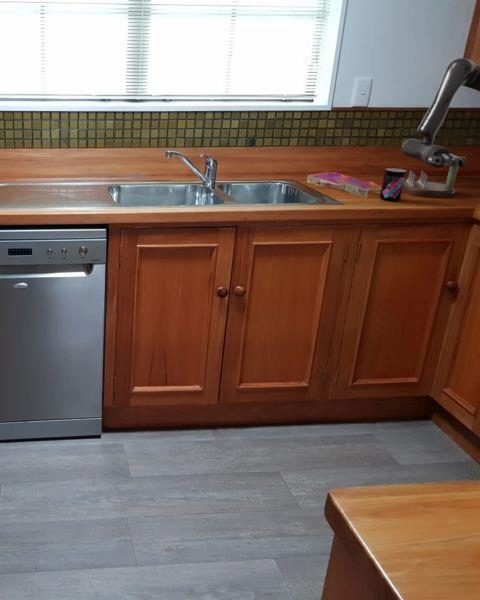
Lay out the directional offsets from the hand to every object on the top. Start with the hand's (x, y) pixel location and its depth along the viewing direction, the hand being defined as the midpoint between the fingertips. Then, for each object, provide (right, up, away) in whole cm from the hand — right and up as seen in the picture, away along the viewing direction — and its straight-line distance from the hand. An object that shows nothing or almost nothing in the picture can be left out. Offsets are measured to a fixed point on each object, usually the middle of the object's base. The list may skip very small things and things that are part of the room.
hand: (459, 163), depth 217 cm
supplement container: (-26, -13, -3) cm, 30 cm away
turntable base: (-7, -9, +9) cm, 14 cm away
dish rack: (-7, -7, +8) cm, 13 cm away
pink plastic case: (-35, -7, +13) cm, 38 cm away
